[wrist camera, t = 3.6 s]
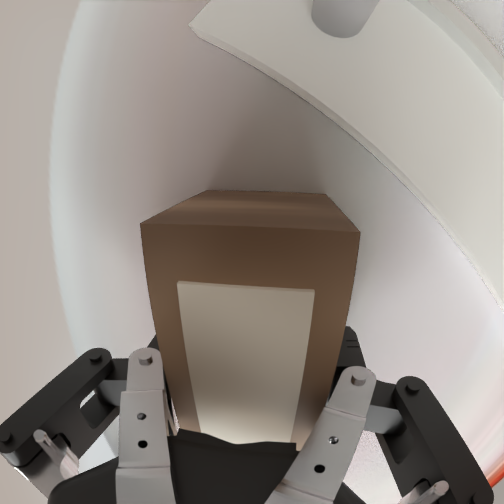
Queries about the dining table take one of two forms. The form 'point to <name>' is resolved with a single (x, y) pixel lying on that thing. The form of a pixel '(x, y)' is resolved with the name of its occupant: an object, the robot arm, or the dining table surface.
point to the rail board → (393, 97)
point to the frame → (250, 309)
